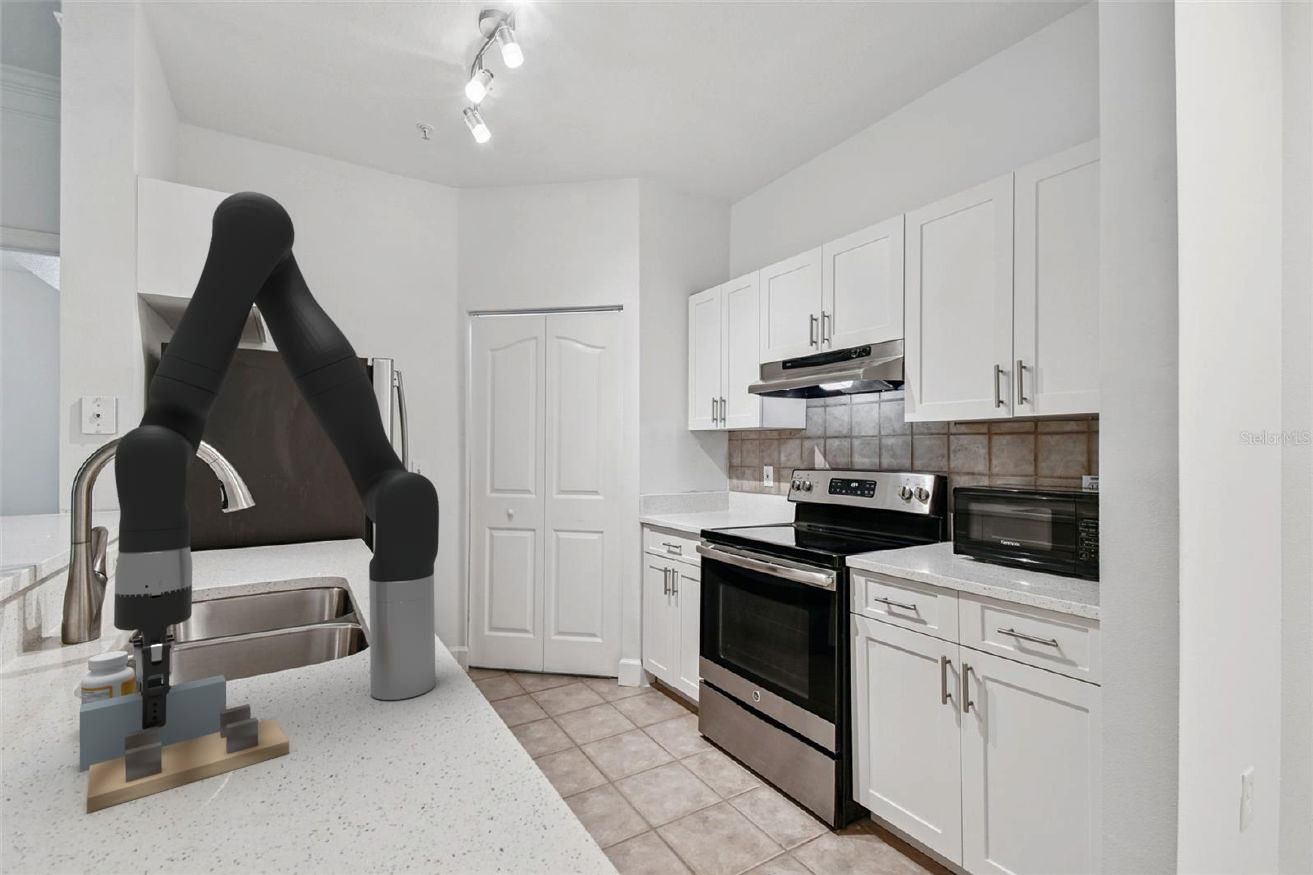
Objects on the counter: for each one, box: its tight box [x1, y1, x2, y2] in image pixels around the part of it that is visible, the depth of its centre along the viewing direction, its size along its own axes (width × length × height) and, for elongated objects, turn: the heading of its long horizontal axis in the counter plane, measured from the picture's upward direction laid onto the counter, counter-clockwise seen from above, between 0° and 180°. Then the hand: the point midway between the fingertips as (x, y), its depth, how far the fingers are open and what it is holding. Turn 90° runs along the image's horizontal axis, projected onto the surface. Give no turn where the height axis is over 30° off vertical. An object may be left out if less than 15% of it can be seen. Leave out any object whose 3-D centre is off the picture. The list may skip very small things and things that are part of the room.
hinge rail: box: [86, 703, 290, 814], centre depth 72 cm, size 18×9×4 cm, turn 131°
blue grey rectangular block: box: [79, 674, 227, 773], centre depth 77 cm, size 14×3×7 cm, turn 131°
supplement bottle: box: [80, 650, 136, 706], centre depth 83 cm, size 5×5×10 cm
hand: (152, 716), depth 77 cm, fingers open, 8 cm apart
